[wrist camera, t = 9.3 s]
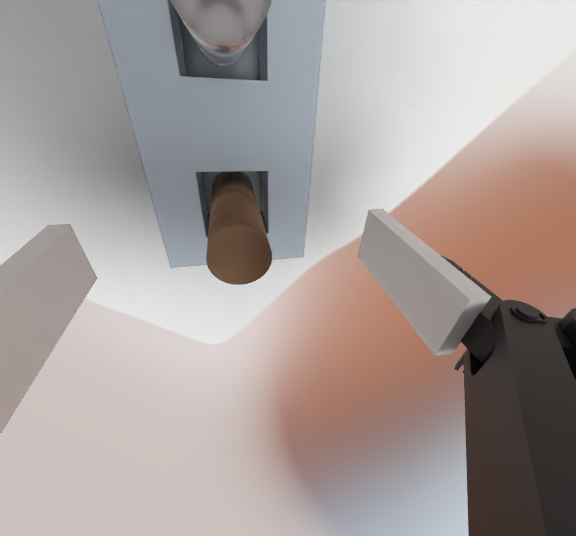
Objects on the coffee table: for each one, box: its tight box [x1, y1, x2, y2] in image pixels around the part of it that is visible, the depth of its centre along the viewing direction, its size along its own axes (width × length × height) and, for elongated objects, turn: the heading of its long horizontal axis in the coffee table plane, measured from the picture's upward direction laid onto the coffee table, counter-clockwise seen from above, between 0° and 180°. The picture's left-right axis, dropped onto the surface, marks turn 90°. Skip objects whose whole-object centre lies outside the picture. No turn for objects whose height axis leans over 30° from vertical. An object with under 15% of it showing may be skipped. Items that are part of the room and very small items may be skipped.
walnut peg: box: [206, 171, 272, 285], centre depth 16 cm, size 3×3×10 cm
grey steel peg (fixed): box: [170, 0, 272, 66], centre depth 11 cm, size 3×3×10 cm
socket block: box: [98, 0, 325, 268], centre depth 16 cm, size 18×10×4 cm, turn 178°
